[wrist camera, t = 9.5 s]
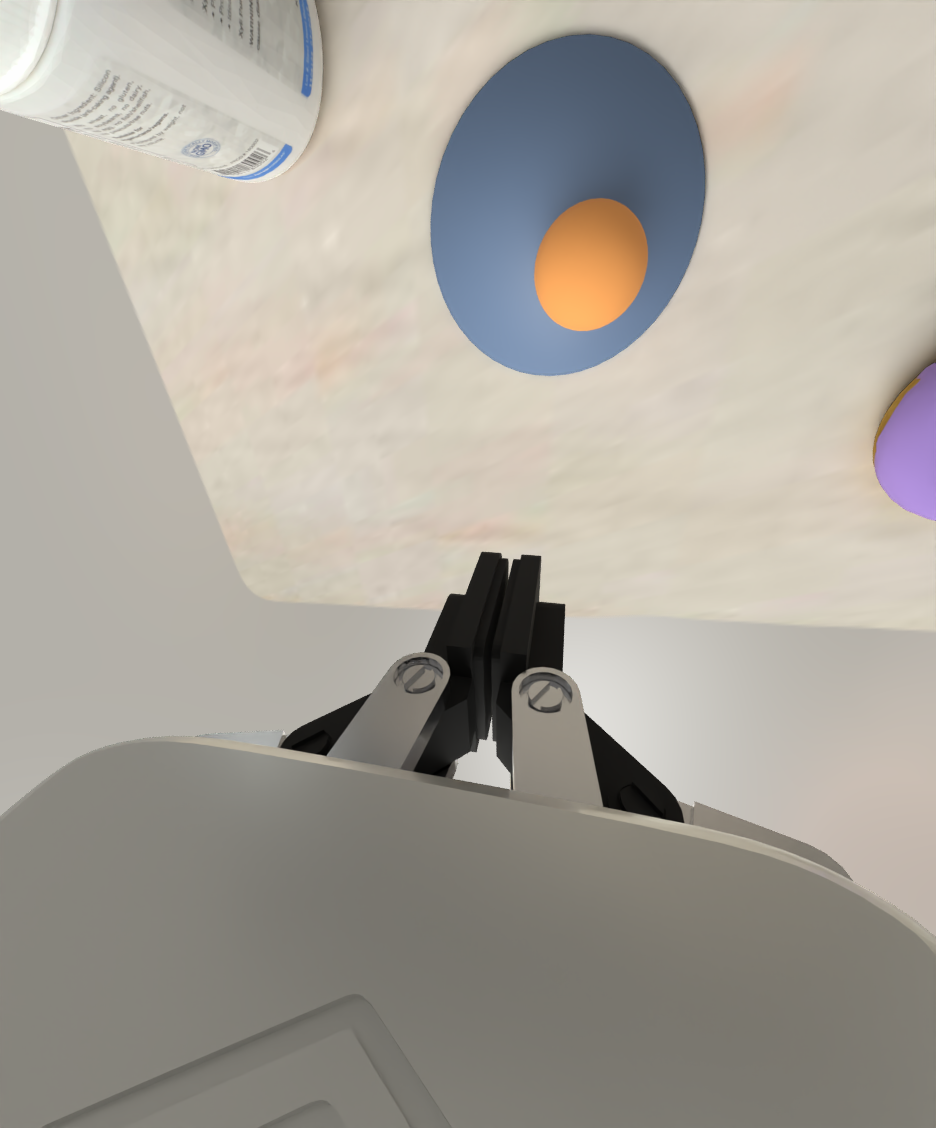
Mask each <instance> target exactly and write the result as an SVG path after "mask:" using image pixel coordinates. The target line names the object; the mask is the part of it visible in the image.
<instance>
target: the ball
mask: <svg viewBox="0 0 936 1128" xmlns="http://www.w3.org/2000/svg"><path fill="white" fill-rule="evenodd" d="M647 263H648V245H647V239H646V235H645V232H644V229H643V227H642V225H641V223H640V221H639V220H638V218H637V217H636V216H635V214H634V213H633V212H632V211H631V210H630V209H629V208H627V207H626V206H625V205H623V204H621V203H619V202H617V201H614V200H611V199H605V198H596V199H589V200H585V201H582V202H579V203H577V204H576V205H574V206H572V207H570V208H568V209H567V210H566V211H565V212H563V213H562V214H561V215H560V216H559V217H558V218H557V219H556V220H555V221H554V222H553V223H552V225H551V226H550V228H549V229H548V231H547V232H546V234H545V235H544V237H543V240H542V242H541V244H540V246H539V249H538V253H537V256H536V261H535V270H534V282H535V288H536V293H537V296H538V299H539V301H540V304H541V306H542V307H543V309H544V311H545V312H546V313H547V315H548V316H549V317H550V318H551V319H552V320H553V321H554V322H556V323H557V324H559V325H561V326H562V327H564V328H567V329H570V330H575V331H590V330H594V329H598V328H601V327H603V326H605V325H608V324H609V323H611V322H613V321H614V320H615V319H617V318H618V317H619V316H620V315H622V314H623V313H624V312H625V311H626V310H627V308H628V307H629V306H630V305H631V303H632V302H633V301H634V299H635V298H636V296H637V294H638V292H639V290H640V288H641V286H642V283H643V281H644V277H645V274H646V269H647Z"/></svg>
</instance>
